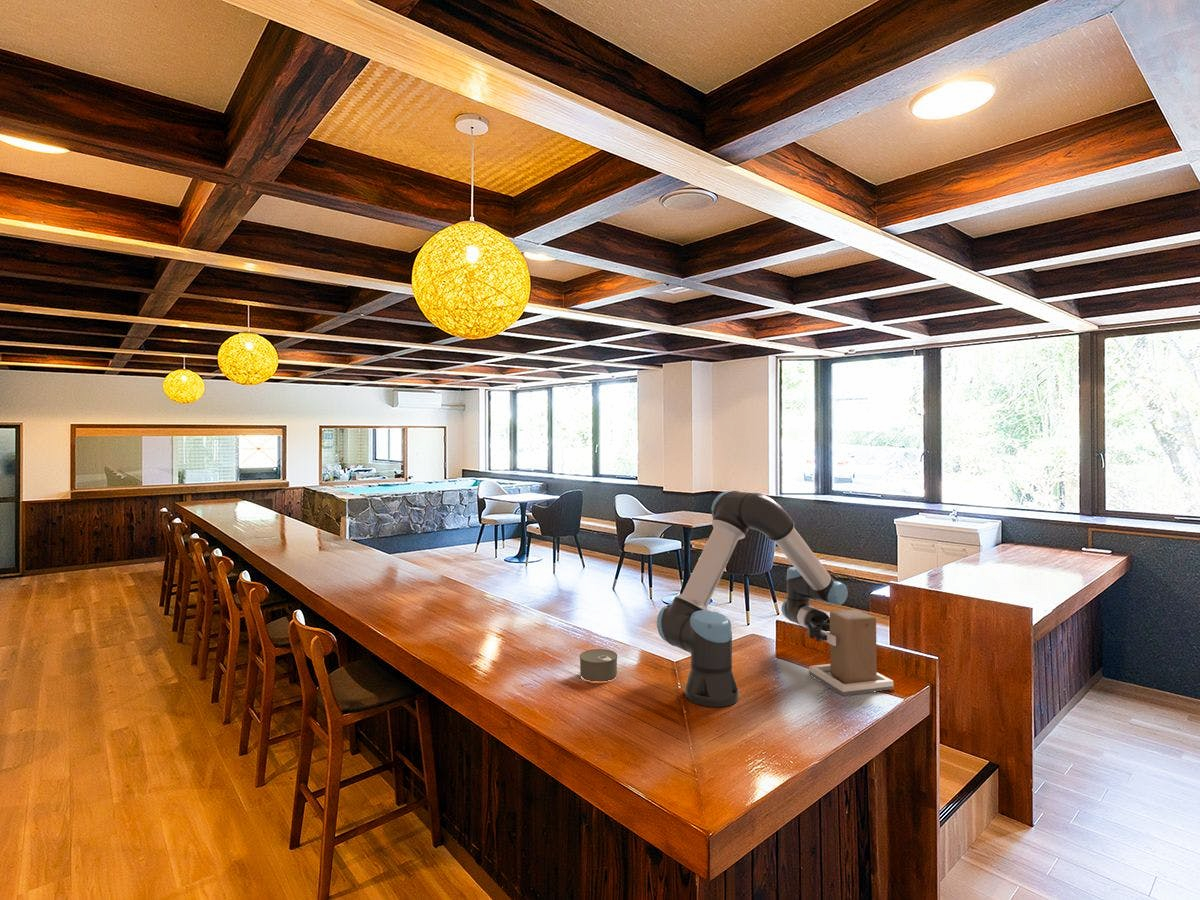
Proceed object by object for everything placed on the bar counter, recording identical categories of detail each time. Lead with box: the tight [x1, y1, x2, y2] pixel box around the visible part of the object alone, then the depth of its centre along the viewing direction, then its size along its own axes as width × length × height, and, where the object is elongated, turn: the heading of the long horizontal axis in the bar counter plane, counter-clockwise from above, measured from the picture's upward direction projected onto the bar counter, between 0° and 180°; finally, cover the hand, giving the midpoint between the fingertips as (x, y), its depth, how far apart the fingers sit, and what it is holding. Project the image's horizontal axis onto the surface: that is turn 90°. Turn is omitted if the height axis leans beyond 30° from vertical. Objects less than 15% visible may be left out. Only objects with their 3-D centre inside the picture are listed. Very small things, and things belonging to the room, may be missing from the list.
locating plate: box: [808, 663, 895, 697], centre depth 181 cm, size 17×17×3 cm
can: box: [579, 648, 618, 681], centre depth 188 cm, size 12×12×7 cm
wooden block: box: [829, 609, 878, 684], centre depth 180 cm, size 10×10×20 cm
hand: (854, 639), depth 179 cm, fingers open, 13 cm apart
